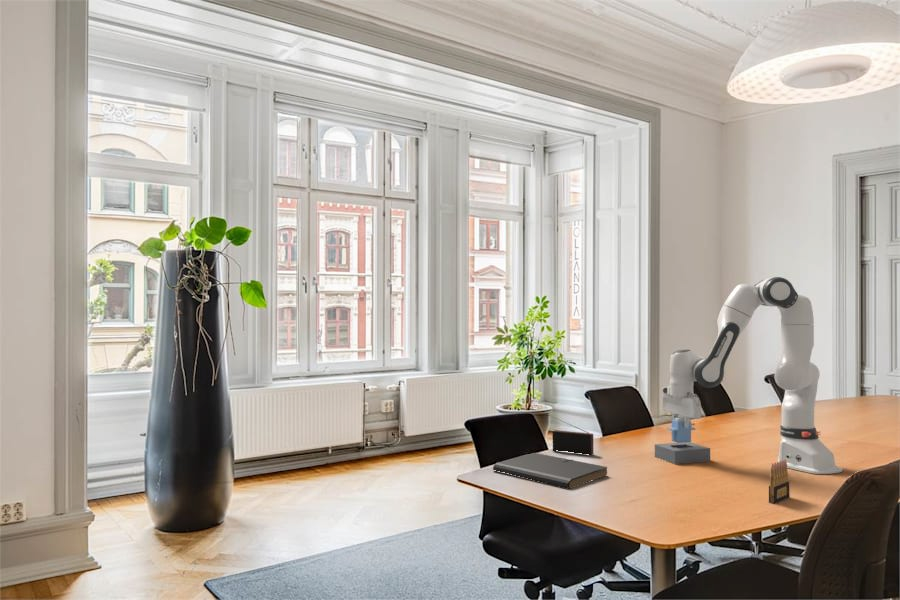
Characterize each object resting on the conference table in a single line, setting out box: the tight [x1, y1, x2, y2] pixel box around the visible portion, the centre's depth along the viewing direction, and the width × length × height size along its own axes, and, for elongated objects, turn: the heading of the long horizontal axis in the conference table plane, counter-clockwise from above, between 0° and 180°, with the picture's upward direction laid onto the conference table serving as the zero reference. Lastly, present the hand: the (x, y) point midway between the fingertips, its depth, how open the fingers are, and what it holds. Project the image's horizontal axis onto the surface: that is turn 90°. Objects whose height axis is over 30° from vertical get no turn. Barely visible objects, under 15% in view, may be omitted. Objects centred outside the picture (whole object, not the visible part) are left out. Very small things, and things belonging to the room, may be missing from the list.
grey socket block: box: [654, 441, 711, 465], centre depth 261 cm, size 13×16×5 cm
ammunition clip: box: [768, 459, 791, 505], centre depth 205 cm, size 11×2×12 cm, turn 131°
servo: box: [666, 417, 696, 443], centre depth 261 cm, size 4×12×9 cm, turn 107°
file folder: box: [492, 452, 608, 490], centre depth 239 cm, size 33×4×24 cm
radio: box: [548, 414, 595, 456], centre depth 273 cm, size 19×3×15 cm, turn 59°
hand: (681, 426), depth 261 cm, fingers closed on servo, 4 cm apart
